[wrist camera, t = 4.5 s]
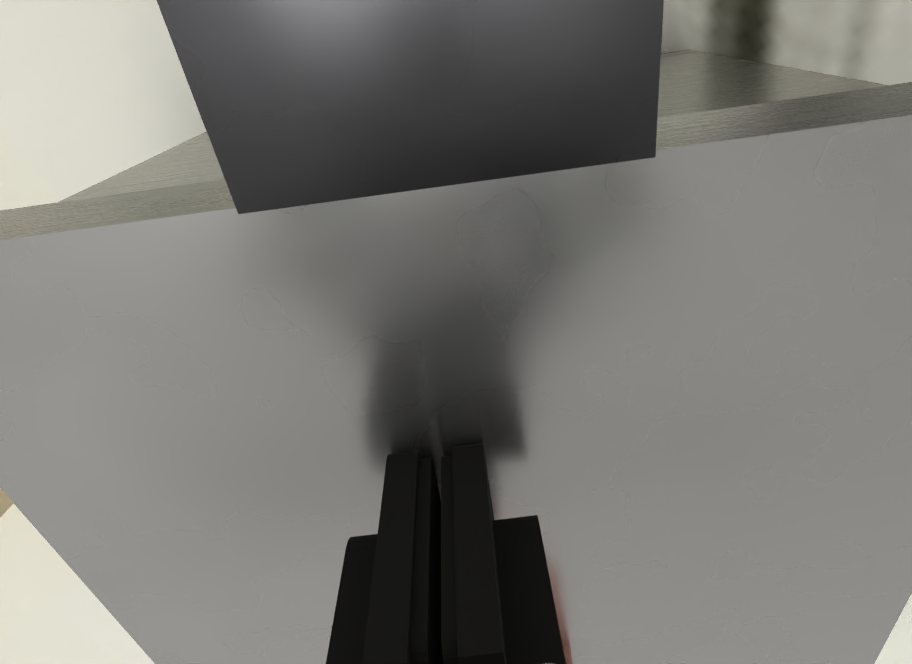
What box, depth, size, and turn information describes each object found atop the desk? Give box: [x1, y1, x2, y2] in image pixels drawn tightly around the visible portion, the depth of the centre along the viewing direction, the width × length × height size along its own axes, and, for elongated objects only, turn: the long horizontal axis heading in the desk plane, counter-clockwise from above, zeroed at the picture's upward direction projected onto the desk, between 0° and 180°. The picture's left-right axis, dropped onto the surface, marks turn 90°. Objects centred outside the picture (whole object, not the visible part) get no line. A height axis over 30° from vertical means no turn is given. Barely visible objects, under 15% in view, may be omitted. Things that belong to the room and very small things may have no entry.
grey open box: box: [58, 50, 888, 203], centre depth 21 cm, size 20×16×12 cm
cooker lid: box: [0, 0, 912, 664], centre depth 11 cm, size 17×21×3 cm
